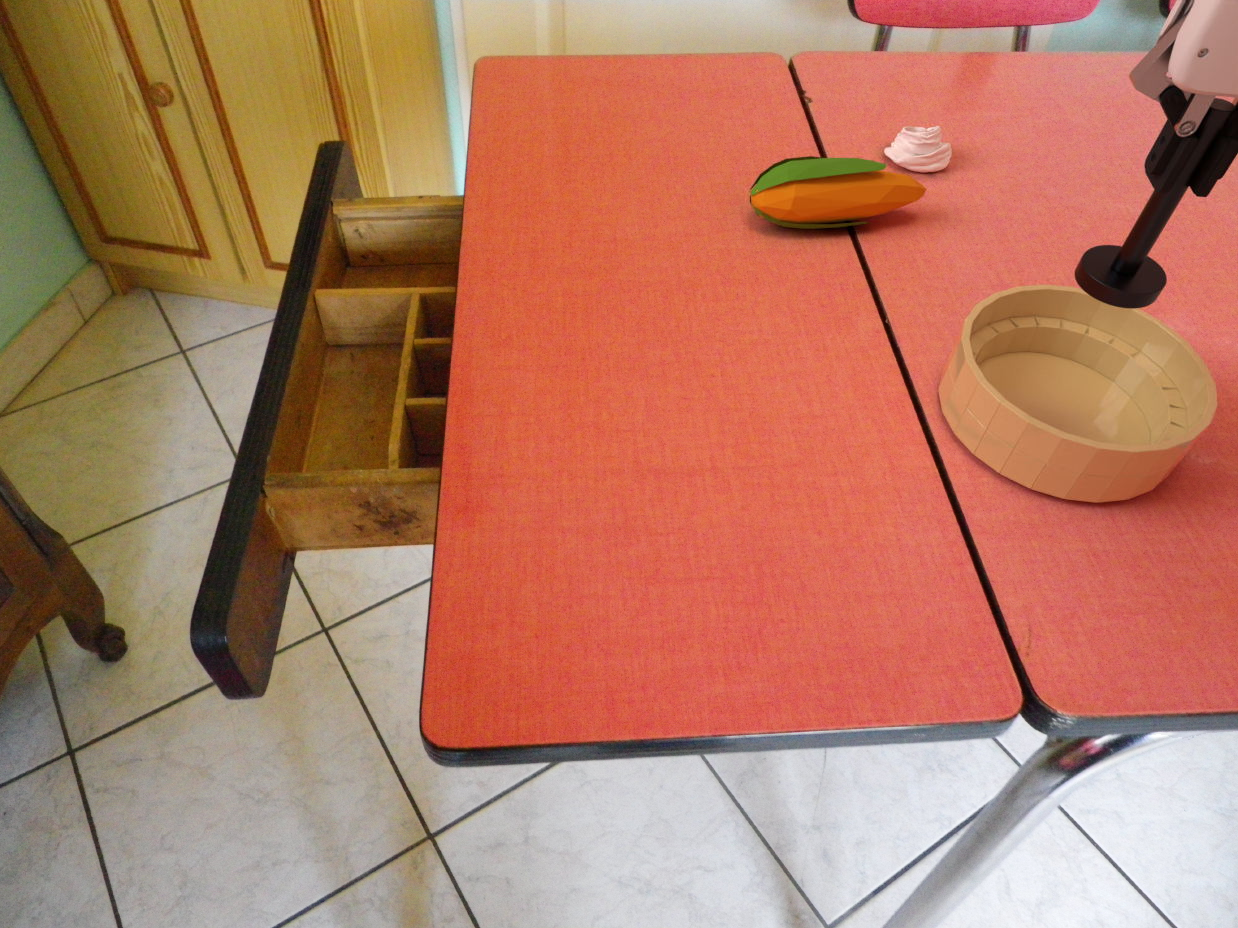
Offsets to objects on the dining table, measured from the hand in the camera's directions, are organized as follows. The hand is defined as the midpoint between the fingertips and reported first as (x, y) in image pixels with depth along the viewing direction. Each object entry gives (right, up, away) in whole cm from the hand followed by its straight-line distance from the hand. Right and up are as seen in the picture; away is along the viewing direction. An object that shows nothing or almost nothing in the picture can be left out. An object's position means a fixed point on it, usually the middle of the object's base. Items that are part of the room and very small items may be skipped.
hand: (1175, 182), depth 58 cm
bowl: (+1, -15, +19) cm, 24 cm away
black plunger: (0, -5, +7) cm, 9 cm away
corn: (-14, +9, +39) cm, 42 cm away
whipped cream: (-1, +18, +48) cm, 51 cm away
